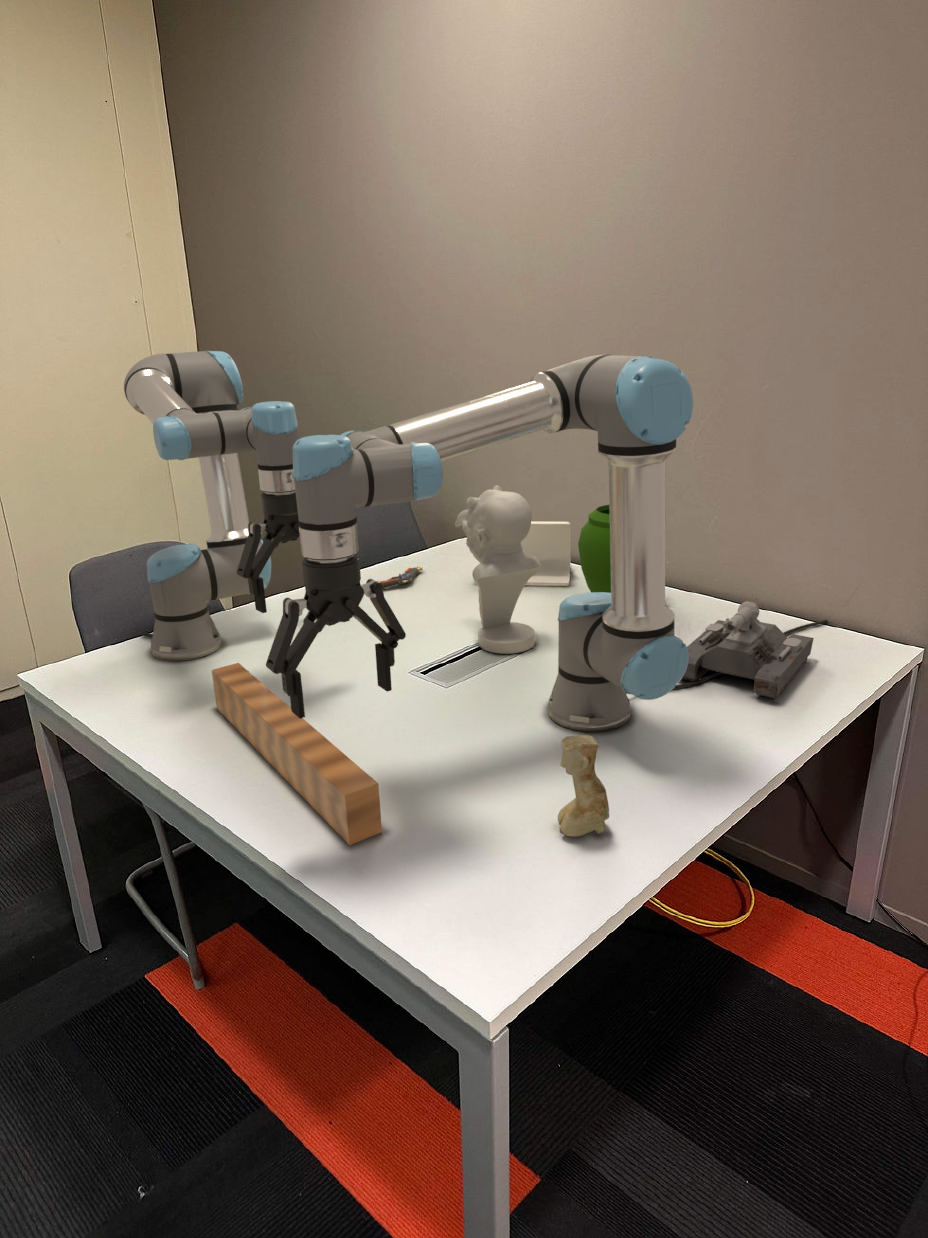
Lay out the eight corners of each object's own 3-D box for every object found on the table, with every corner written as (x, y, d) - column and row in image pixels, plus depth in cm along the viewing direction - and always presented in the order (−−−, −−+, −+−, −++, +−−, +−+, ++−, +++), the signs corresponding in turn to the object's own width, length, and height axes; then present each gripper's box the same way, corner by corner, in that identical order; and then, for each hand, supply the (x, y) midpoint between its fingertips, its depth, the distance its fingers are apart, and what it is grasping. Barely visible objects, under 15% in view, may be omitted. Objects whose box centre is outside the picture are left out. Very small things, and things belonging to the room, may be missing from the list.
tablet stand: (569, 585, 229) (570, 524, 223) (476, 584, 232) (475, 523, 226) (570, 566, 246) (571, 508, 240) (484, 564, 249) (483, 507, 243)
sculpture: (554, 820, 127) (555, 731, 122) (601, 816, 128) (604, 727, 122) (563, 843, 122) (564, 751, 116) (612, 839, 122) (616, 746, 117)
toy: (717, 640, 190) (723, 576, 185) (811, 659, 179) (819, 592, 174) (673, 681, 171) (677, 611, 166) (774, 705, 160) (782, 631, 155)
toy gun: (370, 582, 229) (406, 579, 226) (389, 566, 246) (423, 563, 244) (372, 592, 229) (408, 589, 227) (391, 575, 247) (424, 572, 245)
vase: (599, 587, 227) (601, 497, 218) (668, 600, 216) (673, 505, 208) (562, 608, 212) (564, 513, 204) (634, 623, 202) (639, 523, 193)
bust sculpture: (498, 614, 210) (496, 472, 198) (553, 646, 190) (555, 490, 178) (440, 626, 203) (434, 481, 191) (491, 661, 183) (488, 500, 171)
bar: (217, 709, 166) (211, 669, 163) (243, 701, 169) (238, 662, 166) (349, 845, 123) (345, 795, 120) (382, 832, 126) (378, 783, 123)
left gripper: (228, 506, 143) (243, 624, 150) (351, 482, 158) (359, 590, 166) (207, 499, 148) (223, 613, 156) (328, 477, 164) (337, 582, 171)
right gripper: (251, 581, 103) (270, 737, 110) (425, 544, 116) (431, 686, 124) (229, 567, 109) (248, 716, 116) (397, 533, 122) (404, 669, 130)
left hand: (293, 602), depth 161 cm, fingers open, 13 cm apart
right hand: (342, 701), depth 120 cm, fingers open, 13 cm apart
